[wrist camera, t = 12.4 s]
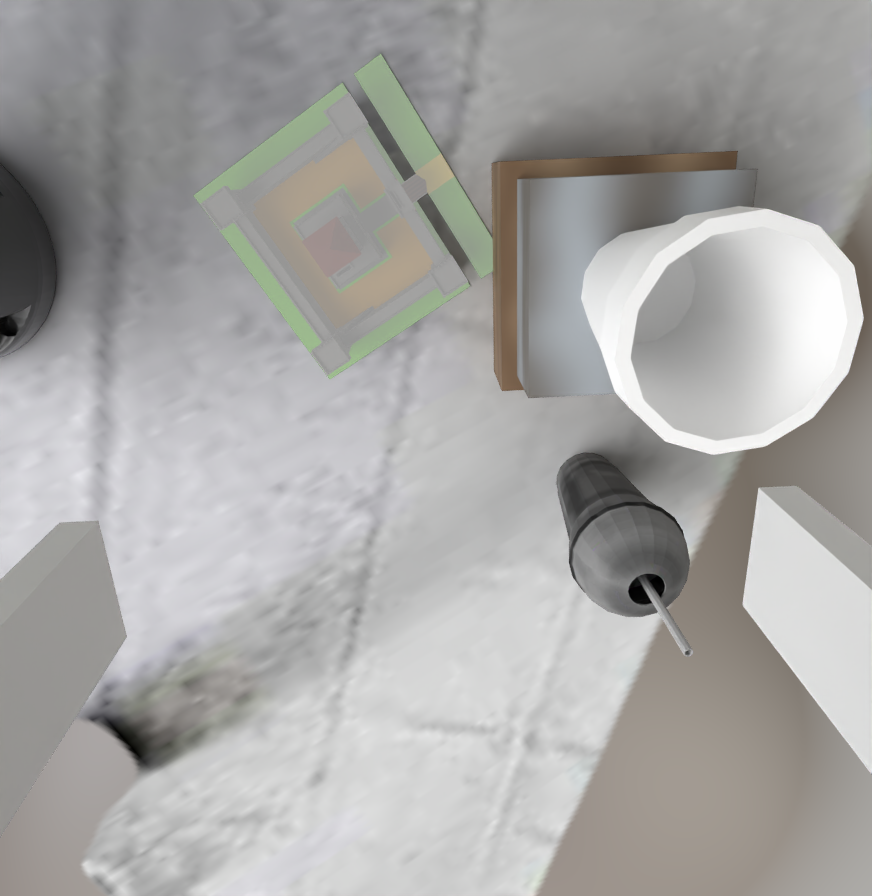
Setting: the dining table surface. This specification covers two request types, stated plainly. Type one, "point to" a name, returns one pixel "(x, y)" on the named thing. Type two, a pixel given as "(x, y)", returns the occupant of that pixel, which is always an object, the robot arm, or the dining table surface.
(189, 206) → the dining table surface
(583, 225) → the block tower
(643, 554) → the beverage cup
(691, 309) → the foam cup
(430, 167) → the castle model
